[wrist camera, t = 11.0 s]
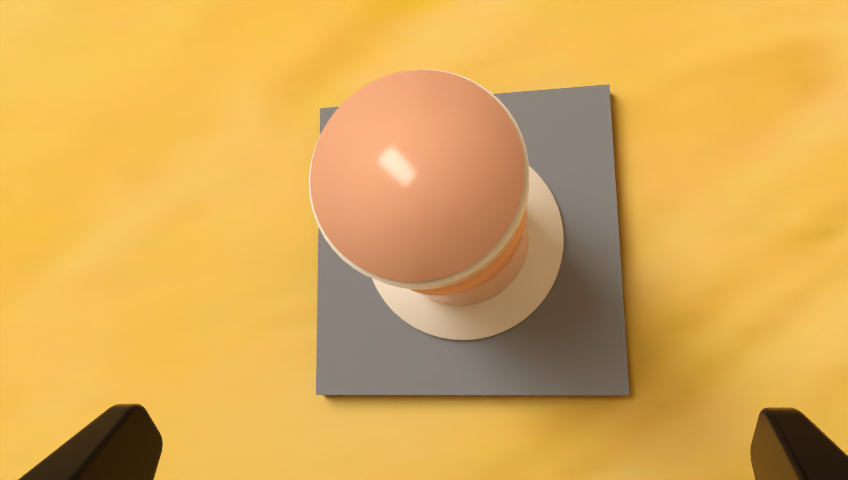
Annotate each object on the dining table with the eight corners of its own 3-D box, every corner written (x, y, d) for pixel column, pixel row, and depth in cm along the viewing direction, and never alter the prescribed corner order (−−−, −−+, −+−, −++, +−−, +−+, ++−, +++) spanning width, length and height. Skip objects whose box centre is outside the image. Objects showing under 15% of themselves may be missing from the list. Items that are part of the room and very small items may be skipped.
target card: (627, 394, 21) (630, 395, 21) (321, 393, 23) (314, 395, 22) (607, 91, 23) (609, 82, 22) (325, 113, 25) (318, 106, 24)
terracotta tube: (552, 281, 22) (563, 238, 13) (418, 327, 22) (342, 317, 13) (503, 152, 23) (483, 32, 14) (376, 200, 23) (280, 113, 14)
